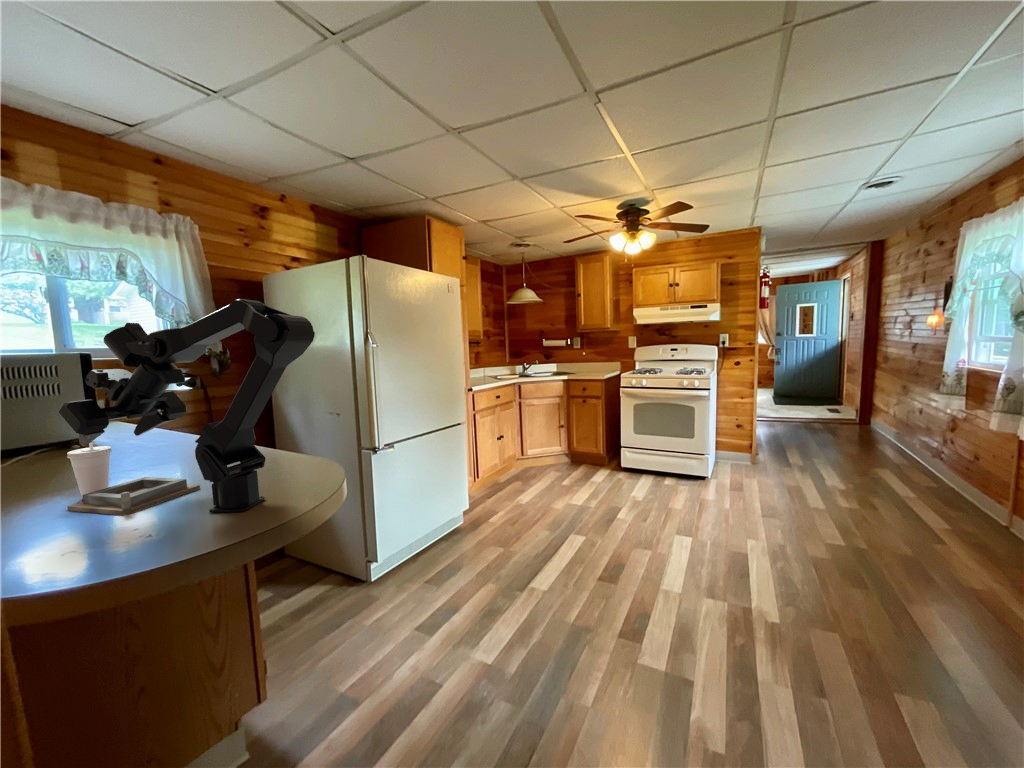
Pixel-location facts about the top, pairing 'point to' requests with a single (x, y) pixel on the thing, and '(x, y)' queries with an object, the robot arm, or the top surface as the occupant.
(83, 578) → the top surface
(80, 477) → the smoothie
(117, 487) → the socket
